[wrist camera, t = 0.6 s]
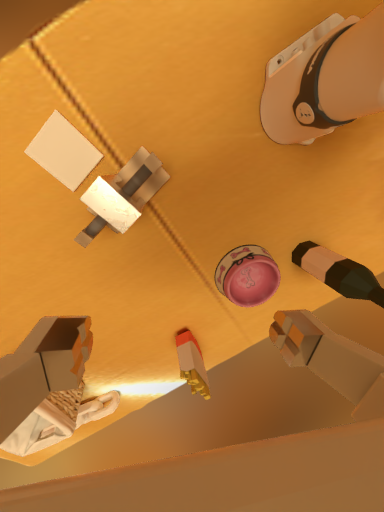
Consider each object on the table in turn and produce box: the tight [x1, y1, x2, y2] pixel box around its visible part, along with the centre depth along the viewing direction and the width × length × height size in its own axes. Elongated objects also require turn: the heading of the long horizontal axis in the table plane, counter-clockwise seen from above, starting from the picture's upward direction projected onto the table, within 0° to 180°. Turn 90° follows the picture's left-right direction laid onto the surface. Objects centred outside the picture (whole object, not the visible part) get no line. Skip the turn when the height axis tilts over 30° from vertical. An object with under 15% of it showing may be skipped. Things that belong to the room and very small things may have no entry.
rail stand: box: [74, 146, 170, 248], centre depth 35 cm, size 18×8×16 cm, turn 133°
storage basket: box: [0, 381, 84, 457], centre depth 53 cm, size 24×16×15 cm
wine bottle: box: [292, 241, 384, 308], centre depth 44 cm, size 8×8×30 cm
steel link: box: [80, 174, 145, 234], centre depth 31 cm, size 4×7×12 cm, turn 43°
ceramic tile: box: [24, 110, 104, 192], centre depth 37 cm, size 10×10×1 cm
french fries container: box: [176, 330, 211, 400], centre depth 56 cm, size 5×11×18 cm, turn 25°
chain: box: [40, 390, 120, 438], centre depth 66 cm, size 30×6×6 cm, turn 113°
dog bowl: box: [215, 245, 281, 307], centre depth 54 cm, size 18×19×7 cm
